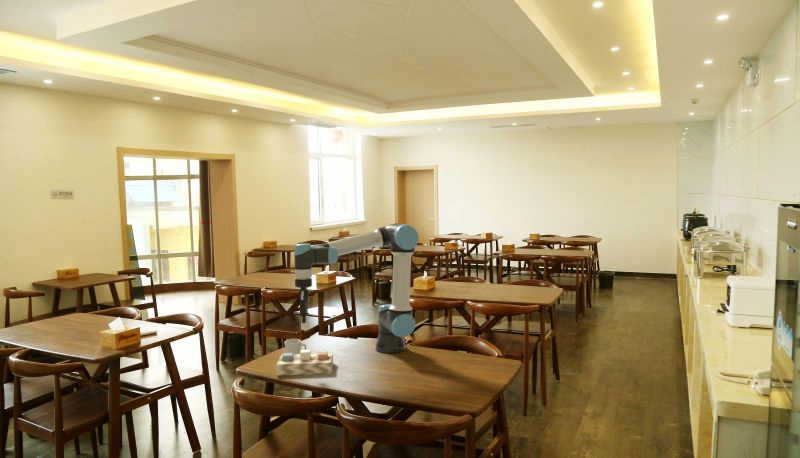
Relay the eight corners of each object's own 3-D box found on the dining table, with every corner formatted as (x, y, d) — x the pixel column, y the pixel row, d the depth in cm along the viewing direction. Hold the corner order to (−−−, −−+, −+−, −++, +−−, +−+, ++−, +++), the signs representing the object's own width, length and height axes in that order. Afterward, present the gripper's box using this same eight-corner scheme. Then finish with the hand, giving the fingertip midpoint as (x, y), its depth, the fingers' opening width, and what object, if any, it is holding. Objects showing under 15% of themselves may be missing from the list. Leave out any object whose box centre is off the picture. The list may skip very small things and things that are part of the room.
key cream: (310, 359, 240) (310, 349, 240) (309, 362, 236) (309, 352, 235) (301, 360, 240) (301, 349, 239) (300, 362, 236) (300, 352, 235)
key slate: (293, 362, 240) (292, 352, 239) (291, 365, 235) (291, 355, 235) (283, 363, 239) (283, 353, 239) (282, 366, 235) (282, 355, 235)
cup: (308, 354, 260) (308, 338, 259) (304, 359, 252) (303, 343, 251) (287, 354, 261) (287, 338, 260) (282, 359, 253) (282, 343, 253)
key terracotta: (328, 361, 241) (327, 351, 240) (327, 364, 236) (327, 354, 236) (319, 362, 240) (318, 351, 240) (318, 365, 236) (317, 354, 236)
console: (333, 363, 246) (332, 353, 245) (331, 373, 232) (330, 362, 231) (281, 365, 244) (281, 354, 244) (276, 375, 230) (276, 364, 230)
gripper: (296, 275, 241) (297, 326, 243) (292, 280, 228) (294, 333, 230) (313, 275, 242) (314, 325, 243) (310, 280, 229) (311, 333, 230)
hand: (304, 329), depth 237 cm, fingers closed
